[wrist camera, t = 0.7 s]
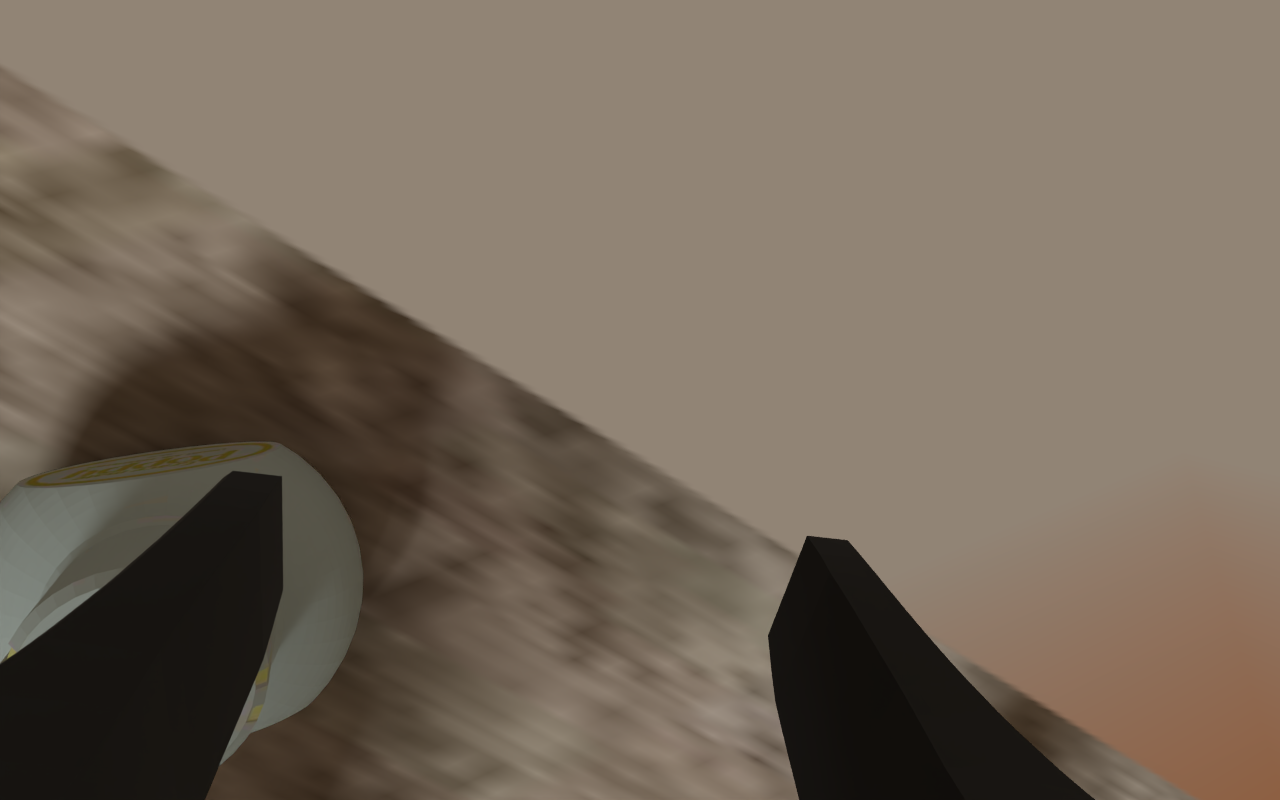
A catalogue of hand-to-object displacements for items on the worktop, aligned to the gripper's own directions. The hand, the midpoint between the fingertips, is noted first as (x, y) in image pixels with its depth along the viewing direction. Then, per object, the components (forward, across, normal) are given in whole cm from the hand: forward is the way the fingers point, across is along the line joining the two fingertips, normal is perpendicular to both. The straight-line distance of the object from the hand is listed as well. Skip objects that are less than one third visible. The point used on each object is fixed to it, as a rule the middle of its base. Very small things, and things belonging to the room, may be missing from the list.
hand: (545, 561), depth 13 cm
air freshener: (+15, +10, +15) cm, 24 cm away
